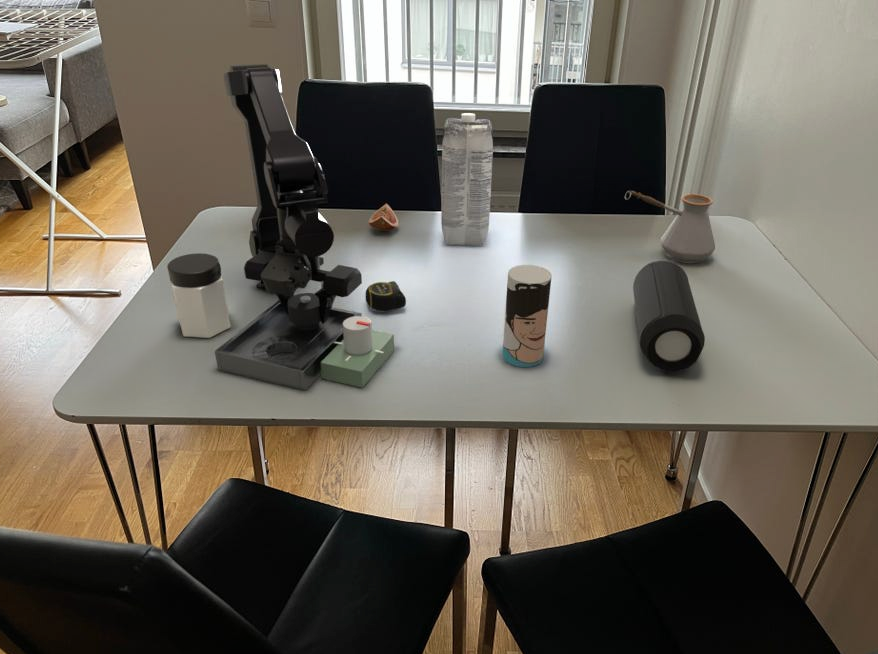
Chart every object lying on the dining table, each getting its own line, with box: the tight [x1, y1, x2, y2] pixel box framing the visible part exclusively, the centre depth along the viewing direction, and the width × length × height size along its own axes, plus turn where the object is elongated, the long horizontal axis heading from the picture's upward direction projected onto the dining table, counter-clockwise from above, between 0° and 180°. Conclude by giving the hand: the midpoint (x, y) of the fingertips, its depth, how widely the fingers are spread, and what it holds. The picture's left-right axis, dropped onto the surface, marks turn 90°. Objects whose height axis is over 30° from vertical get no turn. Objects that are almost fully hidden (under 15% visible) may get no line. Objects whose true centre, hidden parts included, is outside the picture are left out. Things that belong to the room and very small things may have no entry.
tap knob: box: [343, 315, 373, 355], centre depth 110 cm, size 4×4×5 cm
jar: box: [166, 252, 231, 339], centre depth 119 cm, size 9×8×12 cm
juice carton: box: [440, 112, 494, 247], centre depth 151 cm, size 9×10×27 cm
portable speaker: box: [632, 259, 706, 373], centre depth 121 cm, size 26×10×10 cm, turn 172°
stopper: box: [287, 292, 321, 330], centre depth 118 cm, size 6×6×5 cm
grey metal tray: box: [214, 299, 363, 391], centre depth 116 cm, size 16×20×4 cm
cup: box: [501, 264, 553, 368], centre depth 113 cm, size 7×7×15 cm
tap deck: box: [321, 329, 395, 389], centre depth 113 cm, size 9×12×3 cm
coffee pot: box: [624, 190, 716, 264], centre depth 149 cm, size 21×12×15 cm, turn 97°
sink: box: [231, 308, 344, 368], centre depth 116 cm, size 14×18×2 cm
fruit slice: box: [368, 203, 400, 232], centre depth 160 cm, size 8×7×5 cm
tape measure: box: [364, 280, 407, 312], centre depth 129 cm, size 7×7×4 cm
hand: (307, 319), depth 119 cm, fingers closed on stopper, 6 cm apart
